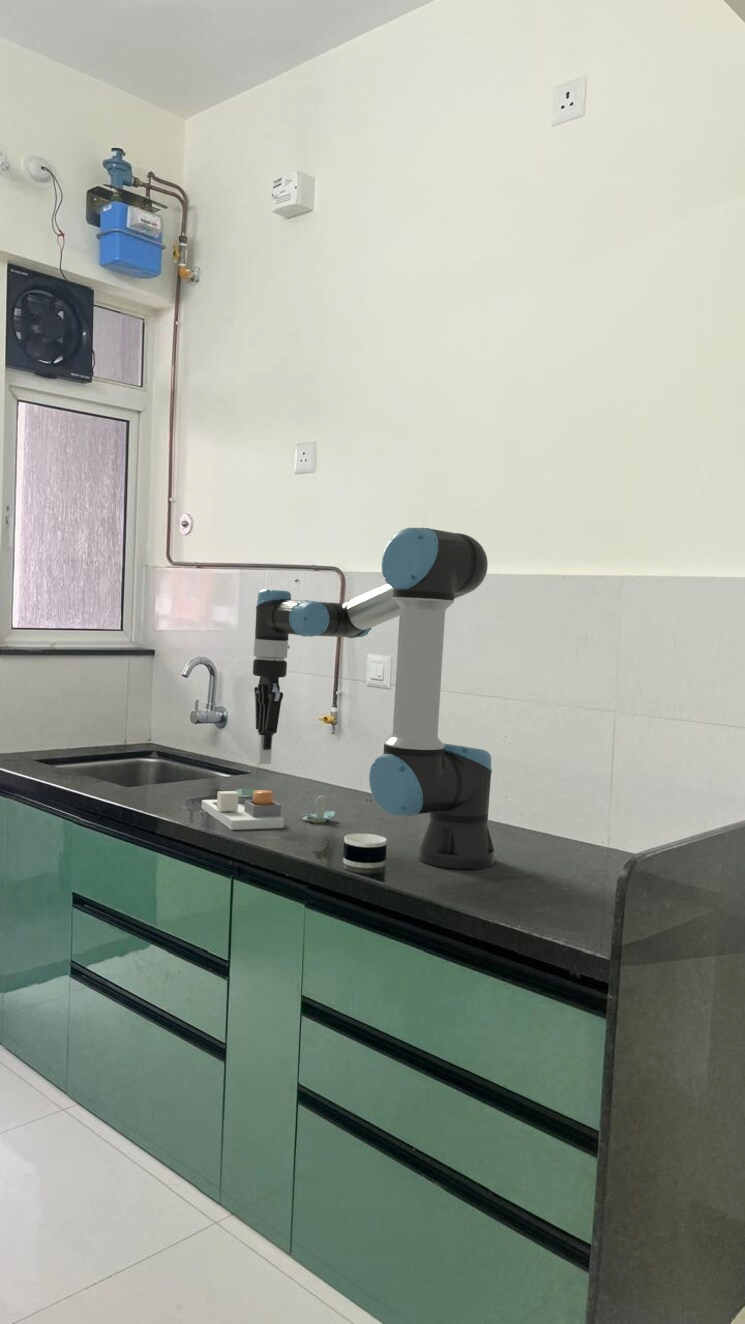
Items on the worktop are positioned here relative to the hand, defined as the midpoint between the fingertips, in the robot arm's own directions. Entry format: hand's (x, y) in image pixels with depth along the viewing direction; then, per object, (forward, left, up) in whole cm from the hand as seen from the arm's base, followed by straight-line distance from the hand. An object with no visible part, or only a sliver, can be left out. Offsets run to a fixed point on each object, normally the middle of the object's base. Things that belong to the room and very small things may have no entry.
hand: (264, 763), depth 227 cm
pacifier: (0, -14, -14) cm, 19 cm away
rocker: (+13, 0, -9) cm, 16 cm away
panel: (+6, +3, -14) cm, 15 cm away
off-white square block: (+4, +7, -11) cm, 14 cm away
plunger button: (0, 0, -10) cm, 10 cm away
